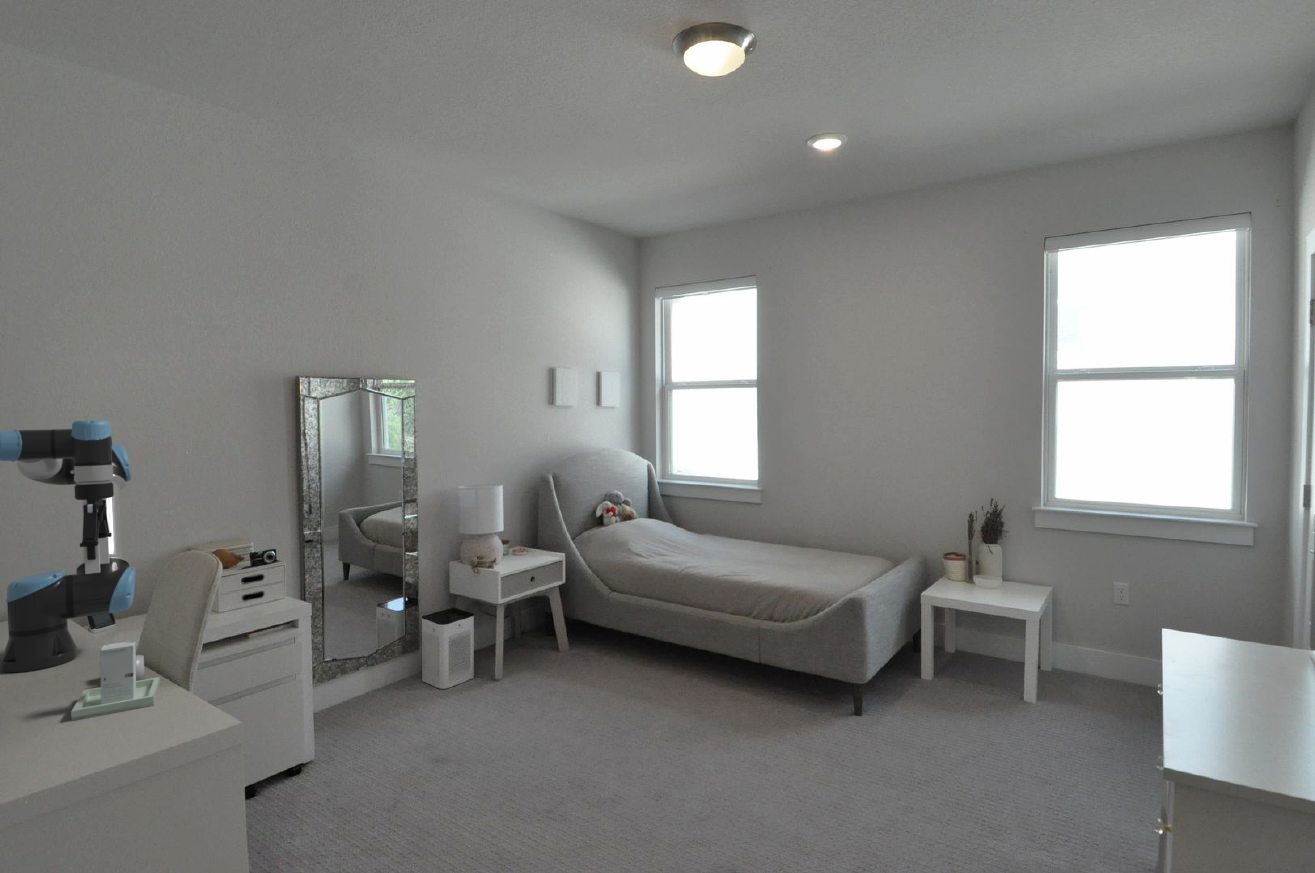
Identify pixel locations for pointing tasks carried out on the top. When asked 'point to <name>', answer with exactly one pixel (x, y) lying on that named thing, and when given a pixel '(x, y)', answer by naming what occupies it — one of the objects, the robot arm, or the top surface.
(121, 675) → the skincare box
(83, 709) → the sage dish
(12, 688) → the top surface
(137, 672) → the grey smooth rounded part
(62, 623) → the robot arm
